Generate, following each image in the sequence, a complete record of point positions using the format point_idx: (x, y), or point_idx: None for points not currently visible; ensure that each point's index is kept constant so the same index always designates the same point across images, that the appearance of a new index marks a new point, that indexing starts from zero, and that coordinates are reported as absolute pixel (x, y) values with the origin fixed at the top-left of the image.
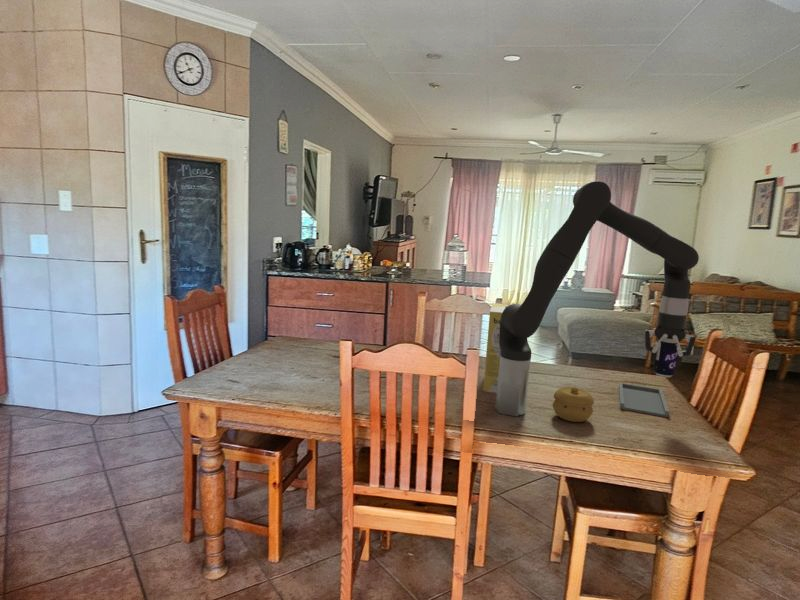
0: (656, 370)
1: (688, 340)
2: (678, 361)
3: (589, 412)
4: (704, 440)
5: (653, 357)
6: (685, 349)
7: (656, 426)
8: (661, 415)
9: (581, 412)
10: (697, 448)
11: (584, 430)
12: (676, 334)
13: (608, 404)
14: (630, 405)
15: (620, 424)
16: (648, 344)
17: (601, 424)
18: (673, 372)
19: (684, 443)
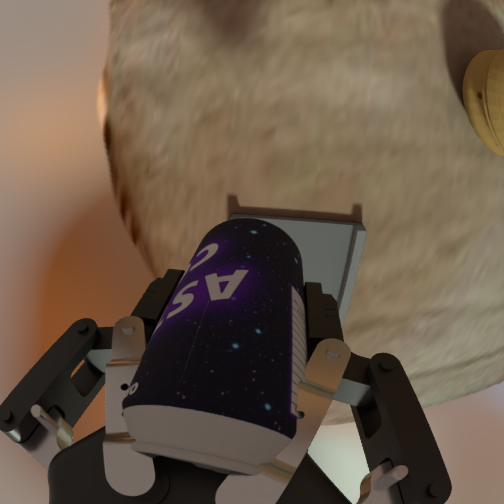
0: (294, 246)
1: (39, 416)
2: (156, 294)
3: (476, 59)
4: (155, 84)
5: (324, 313)
6: (100, 378)
7: (274, 120)
8: (249, 215)
9: (492, 51)
10: (182, 18)
11: (459, 30)
12: (118, 498)
13: (385, 247)
14: (331, 249)
15: (379, 92)
16: (393, 392)
17: (427, 76)
18: (198, 247)
19: (210, 30)
